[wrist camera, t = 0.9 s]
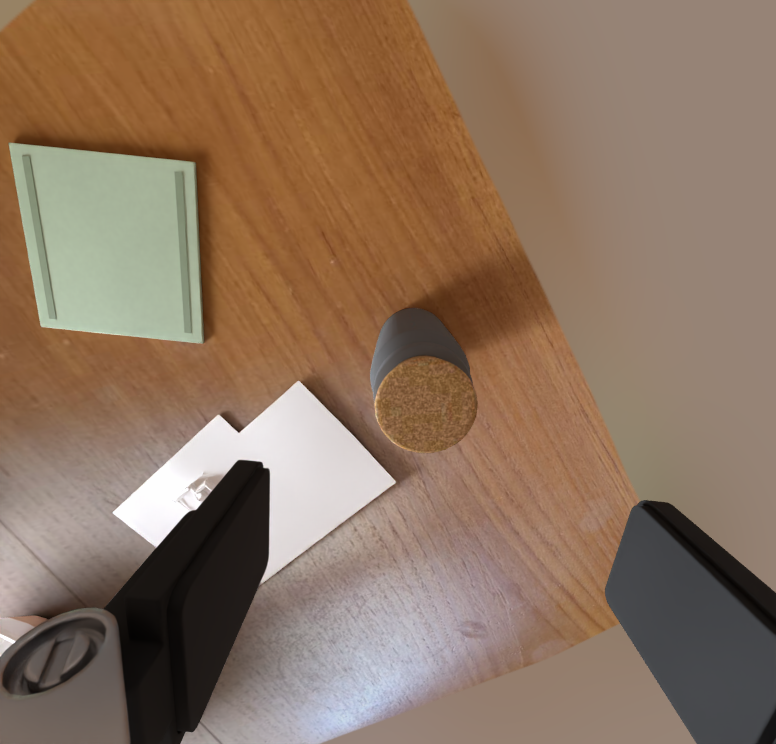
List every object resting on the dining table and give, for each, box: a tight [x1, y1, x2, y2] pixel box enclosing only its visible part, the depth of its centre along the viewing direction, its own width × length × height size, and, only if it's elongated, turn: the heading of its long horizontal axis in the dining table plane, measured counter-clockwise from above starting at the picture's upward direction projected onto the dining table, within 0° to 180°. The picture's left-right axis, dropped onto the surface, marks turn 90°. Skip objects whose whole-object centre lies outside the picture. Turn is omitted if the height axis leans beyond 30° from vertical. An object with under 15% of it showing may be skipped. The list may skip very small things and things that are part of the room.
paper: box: [112, 380, 396, 585], centre depth 35 cm, size 25×17×1 cm
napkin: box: [9, 143, 204, 343], centre depth 29 cm, size 14×14×1 cm
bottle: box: [370, 308, 477, 453], centre depth 24 cm, size 6×6×15 cm
